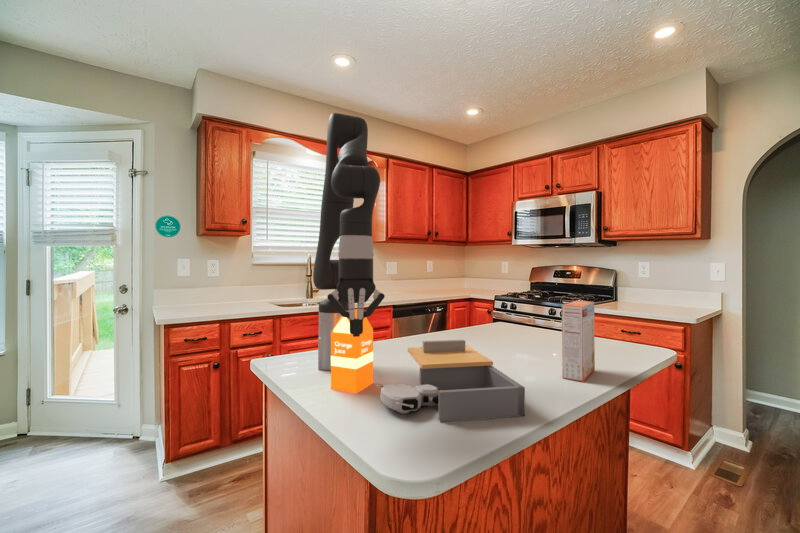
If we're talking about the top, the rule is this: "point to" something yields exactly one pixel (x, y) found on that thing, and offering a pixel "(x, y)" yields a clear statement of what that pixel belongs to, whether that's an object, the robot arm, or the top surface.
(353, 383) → the orange juice
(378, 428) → the top surface
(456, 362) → the lid
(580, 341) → the cracker box
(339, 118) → the robot arm
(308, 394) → the top surface
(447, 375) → the box
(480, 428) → the top surface
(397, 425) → the top surface
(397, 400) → the robot toy
